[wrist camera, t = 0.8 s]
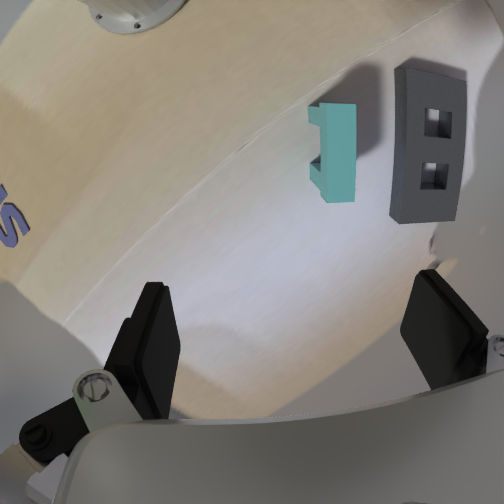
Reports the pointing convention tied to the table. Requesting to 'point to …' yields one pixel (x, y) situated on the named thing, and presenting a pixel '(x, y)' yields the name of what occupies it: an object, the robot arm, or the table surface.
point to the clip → (335, 151)
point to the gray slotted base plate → (427, 146)
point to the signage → (5, 214)
